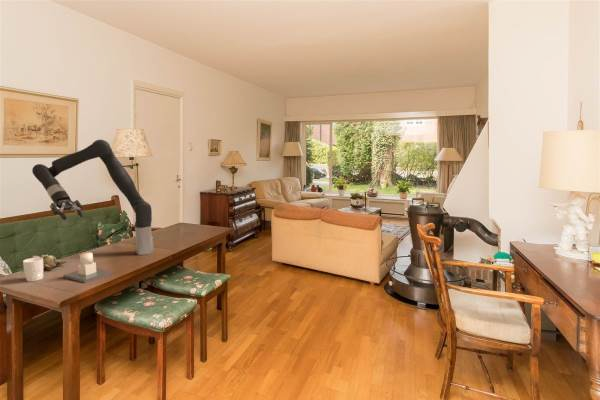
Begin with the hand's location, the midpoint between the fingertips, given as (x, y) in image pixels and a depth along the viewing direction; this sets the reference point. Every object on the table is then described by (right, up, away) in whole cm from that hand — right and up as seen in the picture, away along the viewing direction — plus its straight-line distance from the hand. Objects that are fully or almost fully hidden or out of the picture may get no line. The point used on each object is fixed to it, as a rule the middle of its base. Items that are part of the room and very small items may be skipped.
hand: (74, 217), depth 178 cm
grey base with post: (+11, -30, -5) cm, 32 cm away
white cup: (-12, -30, -11) cm, 34 cm away
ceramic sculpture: (-18, -28, +6) cm, 34 cm away
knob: (+11, -28, -5) cm, 31 cm away
